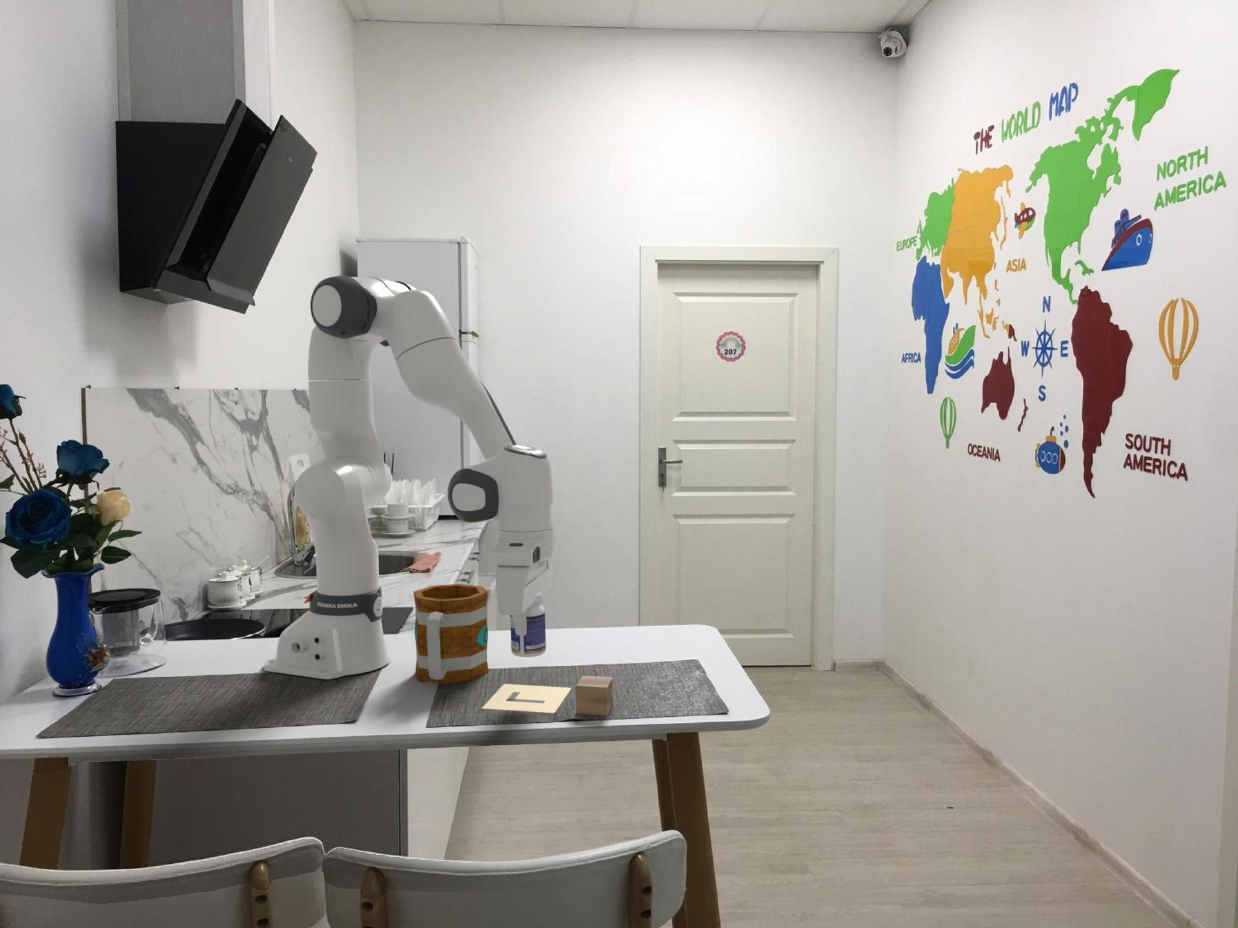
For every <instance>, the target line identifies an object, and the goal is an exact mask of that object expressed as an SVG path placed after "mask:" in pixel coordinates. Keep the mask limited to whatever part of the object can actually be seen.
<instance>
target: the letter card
mask: <svg viewBox="0 0 1238 928" xmlns="http://www.w3.org/2000/svg"><path fill="white" fill-rule="evenodd" d="M571 690H572V687H566V686H565V687H563V686H562V687H561V686H560V687H559V686H546V685H531V684H529V685H527V684H515V683H514V684H511V683H503V685H502V686H500V687H499V688H498V690H497V691H496V692H495V693H494V694H493V695H492V696H491V697H490V699H489V700H487V702H486V703H485V704H484V705H483V706H482V707H481V709H484V710H499V711H500V710H501V711H512V712H513V711H514V712H526V713H528V712H529V713H530V712H532V713H542V714H543V713H544V714H545V713H547V714H555V713H556V711H557V710H558V709H559V708H560V706H561V705H562V703H563V701H564V700H565V698H566V697H567V695H568V694H569V693H570V691H571Z"/></svg>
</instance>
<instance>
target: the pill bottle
mask: <svg viewBox="0 0 1238 928" xmlns="http://www.w3.org/2000/svg"><path fill="white" fill-rule="evenodd" d="M541 601H543V595H542V594H541V593H539V594H538V595H536V600H535V603H534V604H532V605H531V606H530V607H529V608H528V609H527V614H526V619H527V623H528V633H527V634H526V635H524V636H520V635H516V633H515V623H514V620H513V617H512V615H509V616H510V621H509V622H510V649H511V654H512V655H513V656H515V657H519V658H535V657H539V656H542V655H543V654H544V653H546V651H547V641H546V639H547V636H546V632H547V631H546V610H545V608H544V606H543V605H542V604H541V605H540V602H541Z"/></svg>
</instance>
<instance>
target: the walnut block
mask: <svg viewBox="0 0 1238 928" xmlns="http://www.w3.org/2000/svg"><path fill="white" fill-rule="evenodd" d="M613 705H614V677H613V676H598V675H597V676H595V675H582V676H581V678H580V679H579V680H578V681H577V683H576V685H575V714H576V715H577V714H579V715H593V716H594V715H595V716H608V715H609V713H610V711H611V709H612V707H613Z"/></svg>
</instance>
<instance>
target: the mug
mask: <svg viewBox="0 0 1238 928" xmlns="http://www.w3.org/2000/svg"><path fill="white" fill-rule="evenodd" d="M488 596H489V595H488V591H487V590H486V589H485V588H484V586H480V585H472V584H463V583H454V584H441V585H440V584H439V585H430V586H427V587H424V588H421V589H417V590H415V591H413V597H414V605H415V609H414V610H415V620H414V621H415V622H414V641H415V647H416V648H415V649H416V650H415V651H416V654H415V655H416V658H415V659H416V661H415V662H416V663H415V671H414V673H415V676H416V679H417V681H418V682H419V683H425V682H429V683H430V682H431V683H435V684H436V683H437V684H443V685H444V684H452V683H460V682H470V681H474V680H476V679H478V678H480V677H481V676H484V675H486V674H488V673H489V672H490V671H489V665H488V664H489V663H488V639H489V638H488V637H489V630H488V620H487V619H488V618H487V602H488Z"/></svg>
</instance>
